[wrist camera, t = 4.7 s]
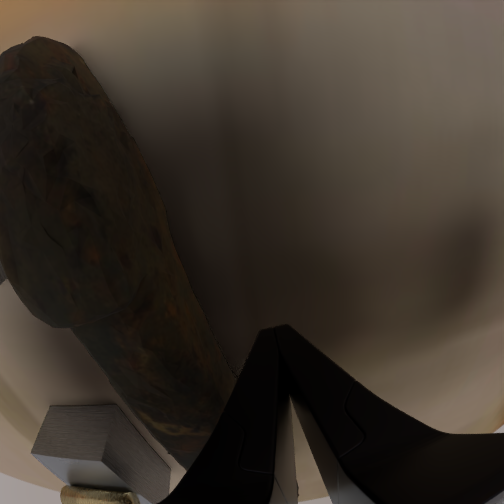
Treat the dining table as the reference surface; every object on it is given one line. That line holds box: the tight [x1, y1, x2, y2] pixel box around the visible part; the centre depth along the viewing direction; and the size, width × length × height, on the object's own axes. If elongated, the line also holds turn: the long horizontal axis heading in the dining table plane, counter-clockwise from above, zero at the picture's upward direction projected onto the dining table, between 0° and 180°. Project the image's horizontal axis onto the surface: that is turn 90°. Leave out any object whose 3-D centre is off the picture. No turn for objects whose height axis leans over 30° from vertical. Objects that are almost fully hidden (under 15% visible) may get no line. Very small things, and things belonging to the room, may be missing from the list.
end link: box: [31, 404, 171, 504], centre depth 10 cm, size 4×6×4 cm, turn 13°
